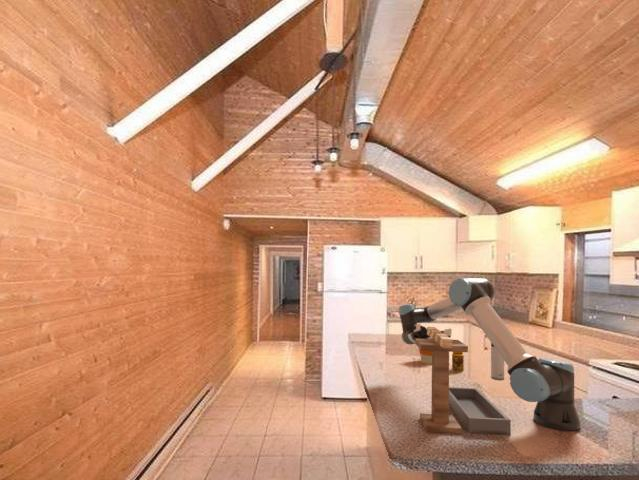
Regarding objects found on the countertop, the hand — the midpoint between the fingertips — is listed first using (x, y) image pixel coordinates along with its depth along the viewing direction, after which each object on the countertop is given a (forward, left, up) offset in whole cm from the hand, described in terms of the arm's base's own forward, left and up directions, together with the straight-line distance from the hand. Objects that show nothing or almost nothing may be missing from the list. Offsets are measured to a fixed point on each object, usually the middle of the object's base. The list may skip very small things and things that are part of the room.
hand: (435, 329), depth 167 cm
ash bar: (-12, +16, -1) cm, 20 cm away
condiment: (+22, -58, -31) cm, 69 cm away
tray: (-16, -2, -31) cm, 35 cm away
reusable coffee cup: (+42, -61, -31) cm, 80 cm away
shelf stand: (-14, +19, -31) cm, 39 cm away
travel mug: (0, -60, -31) cm, 67 cm away
